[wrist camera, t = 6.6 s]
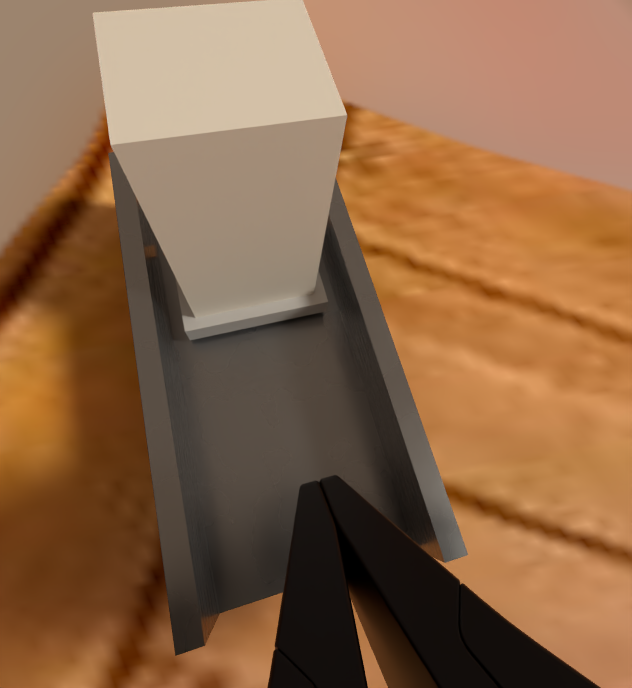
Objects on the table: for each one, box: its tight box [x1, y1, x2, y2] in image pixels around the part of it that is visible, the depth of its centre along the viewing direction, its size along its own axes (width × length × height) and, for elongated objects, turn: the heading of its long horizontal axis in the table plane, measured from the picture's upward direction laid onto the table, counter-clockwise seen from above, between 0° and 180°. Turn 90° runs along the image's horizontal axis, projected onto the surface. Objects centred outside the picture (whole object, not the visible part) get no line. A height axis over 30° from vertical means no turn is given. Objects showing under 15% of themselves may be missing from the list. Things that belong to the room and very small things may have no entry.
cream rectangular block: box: [93, 0, 347, 340], centre depth 14 cm, size 5×6×10 cm
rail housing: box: [109, 152, 468, 656], centre depth 16 cm, size 18×9×4 cm, turn 15°
